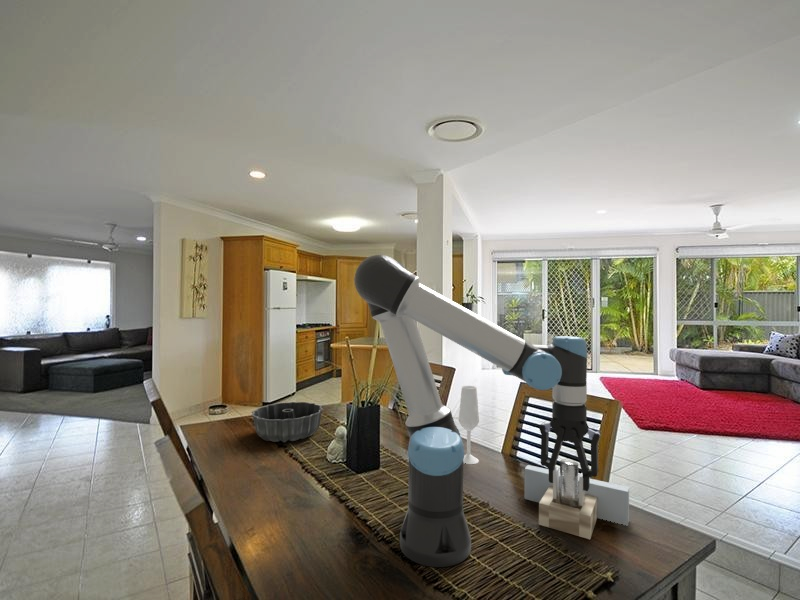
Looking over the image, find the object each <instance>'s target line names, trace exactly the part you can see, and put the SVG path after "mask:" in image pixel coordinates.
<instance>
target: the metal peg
mask: <svg viewBox="0 0 800 600" xmlns="http://www.w3.org/2000/svg"><path fill="white" fill-rule="evenodd" d="M559 472H560V504H562V505H566V506H569V507H573V508H577V509H578V476H579V463H578V462H577V461H576V460H573V459H572V460H571V459H561V460H560V461H559Z"/></svg>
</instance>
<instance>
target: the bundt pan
mask: <svg viewBox="0 0 800 600" xmlns="http://www.w3.org/2000/svg"><path fill="white" fill-rule="evenodd" d="M323 411H324V408H322V405H321V404H316V403H315V402H313V403H312V402H306V401H290V402H276V403H272V404H267V405H264V406H260V407H258V408H256V409H255V410H252V411H251V417H252V418H253V424H254V428H255V432H256V434H257V436H258V437H259V438H261V439H262V440H264V441H266V442H273V443H278V442H282V443H283V444H284V443H287V441H289V442H296V441H298V440H305V439H306V438H308V437H311V436H313V434H315V432H317V431H318V429H319V427H320V426H321V420H322V412H323Z"/></svg>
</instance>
